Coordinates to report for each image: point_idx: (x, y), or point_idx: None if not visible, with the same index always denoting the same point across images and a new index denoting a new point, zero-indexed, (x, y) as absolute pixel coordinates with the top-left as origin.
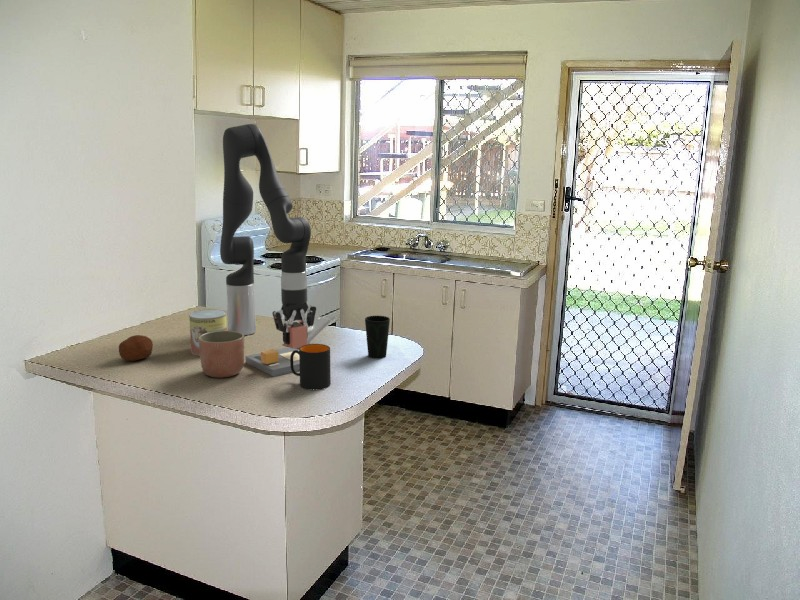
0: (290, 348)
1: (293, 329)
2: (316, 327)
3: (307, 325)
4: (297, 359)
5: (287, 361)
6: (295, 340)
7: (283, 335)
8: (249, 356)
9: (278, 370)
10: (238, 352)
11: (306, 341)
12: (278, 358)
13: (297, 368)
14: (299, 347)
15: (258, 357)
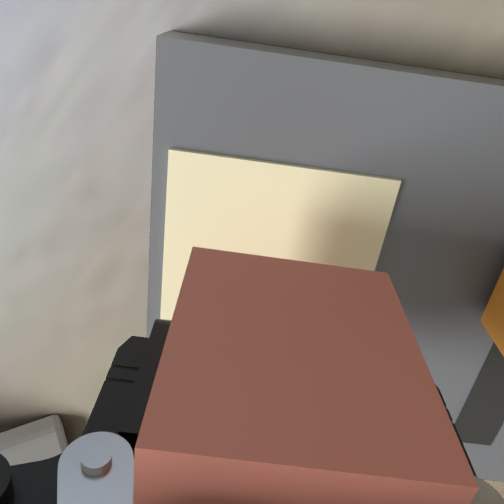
0: None
1: (445, 469)
2: None
3: (67, 486)
4: (345, 182)
5: (432, 214)
6: (365, 323)
7: None
8: (495, 466)
9: None
10: None
11: (194, 276)
12: (411, 321)
13: (431, 71)
14: (64, 435)
15: (487, 418)
